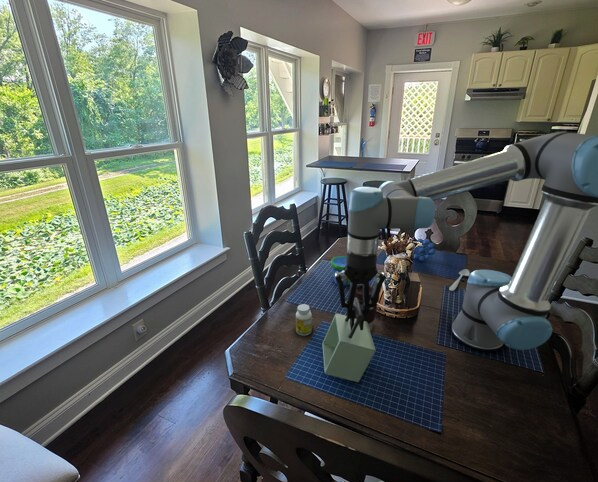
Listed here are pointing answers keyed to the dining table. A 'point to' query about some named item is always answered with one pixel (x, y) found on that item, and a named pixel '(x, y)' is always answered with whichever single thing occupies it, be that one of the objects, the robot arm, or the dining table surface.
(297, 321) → the supplement bottle
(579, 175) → the robot arm
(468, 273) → the spoon
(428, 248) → the grapes
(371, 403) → the dining table surface
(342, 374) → the pale green square box
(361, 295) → the coffee cup
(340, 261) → the snack cup
